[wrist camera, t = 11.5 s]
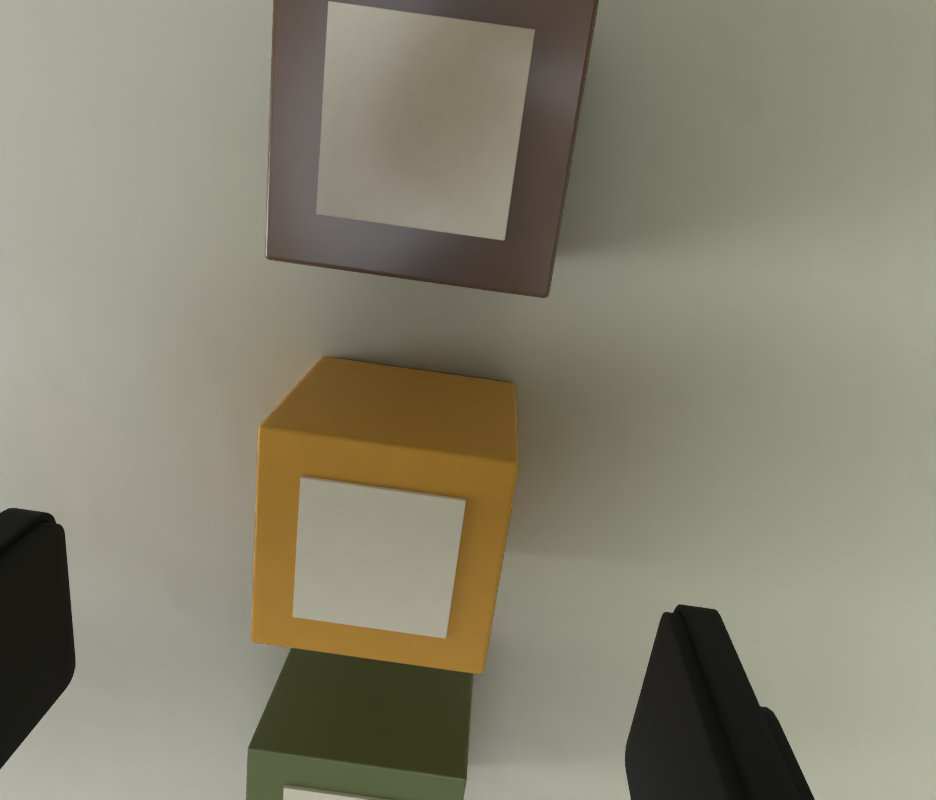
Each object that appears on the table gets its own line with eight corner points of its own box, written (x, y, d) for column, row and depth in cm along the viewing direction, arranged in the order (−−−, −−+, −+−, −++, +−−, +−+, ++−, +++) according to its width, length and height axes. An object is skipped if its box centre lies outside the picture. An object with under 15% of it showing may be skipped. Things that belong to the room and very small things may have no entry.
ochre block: (515, 382, 18) (520, 465, 13) (488, 551, 20) (483, 680, 15) (321, 354, 18) (255, 427, 13) (310, 526, 20) (247, 647, 15)
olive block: (475, 636, 21) (466, 783, 16) (454, 766, 22) (440, 935, 17) (305, 612, 21) (245, 751, 16) (297, 744, 22) (240, 907, 17)
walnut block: (573, 29, 15) (604, -31, 10) (536, 259, 17) (548, 300, 12) (344, -3, 15) (272, -77, 10) (330, 230, 17) (260, 260, 12)
